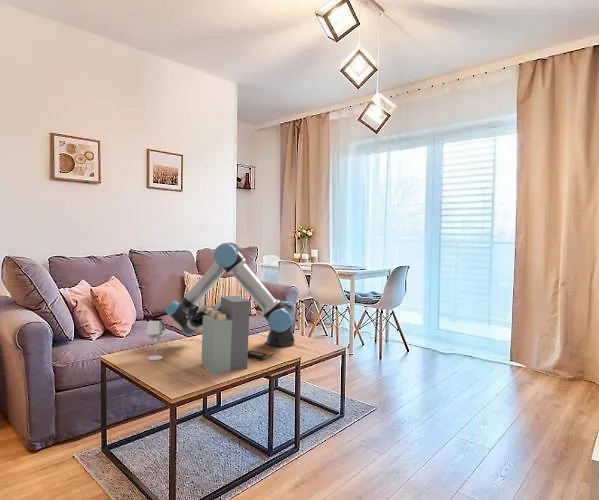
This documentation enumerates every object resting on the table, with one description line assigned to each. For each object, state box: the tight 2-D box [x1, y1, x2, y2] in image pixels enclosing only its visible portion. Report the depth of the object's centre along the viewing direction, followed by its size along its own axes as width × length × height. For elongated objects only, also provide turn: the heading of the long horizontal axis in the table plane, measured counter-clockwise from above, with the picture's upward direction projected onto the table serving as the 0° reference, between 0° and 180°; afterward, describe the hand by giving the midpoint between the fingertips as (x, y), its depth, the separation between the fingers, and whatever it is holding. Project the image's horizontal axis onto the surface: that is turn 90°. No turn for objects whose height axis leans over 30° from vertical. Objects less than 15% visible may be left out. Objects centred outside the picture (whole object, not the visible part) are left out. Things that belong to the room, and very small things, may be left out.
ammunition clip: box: [248, 349, 275, 361], centre depth 196 cm, size 11×2×12 cm
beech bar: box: [201, 305, 226, 321], centre depth 180 cm, size 22×3×2 cm, turn 32°
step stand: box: [200, 295, 251, 375], centre depth 178 cm, size 14×16×30 cm
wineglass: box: [146, 317, 166, 361], centre depth 185 cm, size 8×8×18 cm
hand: (210, 304), depth 181 cm, fingers open, 8 cm apart
